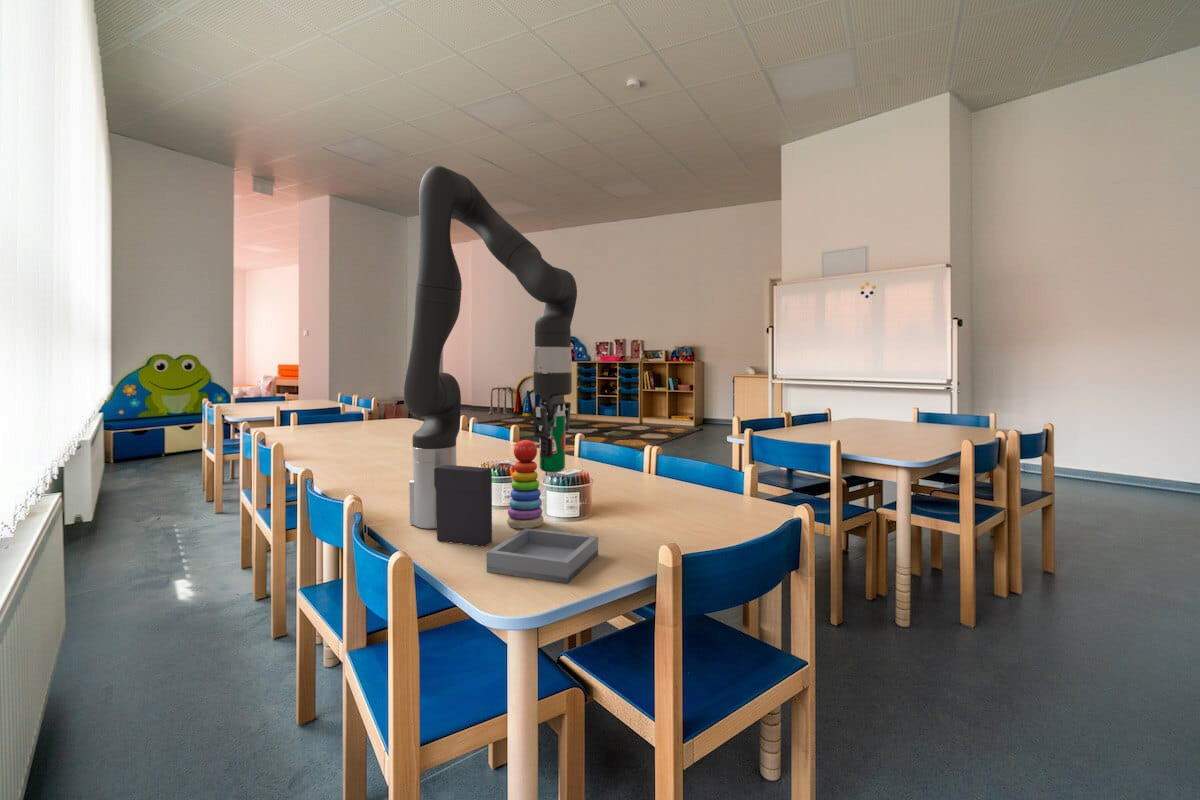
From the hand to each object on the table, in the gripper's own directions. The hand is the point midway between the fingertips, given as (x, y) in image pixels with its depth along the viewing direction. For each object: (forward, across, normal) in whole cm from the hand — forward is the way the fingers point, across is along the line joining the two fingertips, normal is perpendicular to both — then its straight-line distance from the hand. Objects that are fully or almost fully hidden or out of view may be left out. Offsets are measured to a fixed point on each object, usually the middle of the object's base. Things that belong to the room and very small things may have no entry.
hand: (552, 455), depth 117 cm
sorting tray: (+17, +12, +4) cm, 21 cm away
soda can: (+3, 0, 0) cm, 3 cm away
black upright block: (+18, +6, -16) cm, 25 cm away
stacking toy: (+18, -8, -10) cm, 22 cm away
